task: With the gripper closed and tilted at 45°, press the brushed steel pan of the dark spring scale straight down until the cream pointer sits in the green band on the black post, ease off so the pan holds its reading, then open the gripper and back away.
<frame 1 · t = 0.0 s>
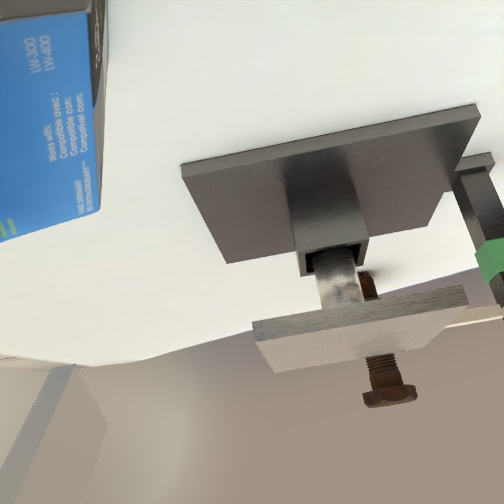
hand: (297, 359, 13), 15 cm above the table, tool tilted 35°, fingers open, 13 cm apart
bolt: (358, 274, 53), on the table
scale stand: (317, 196, 35), on the table
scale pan: (369, 294, 31), point 9 cm above the table, slide at 0.0 cm
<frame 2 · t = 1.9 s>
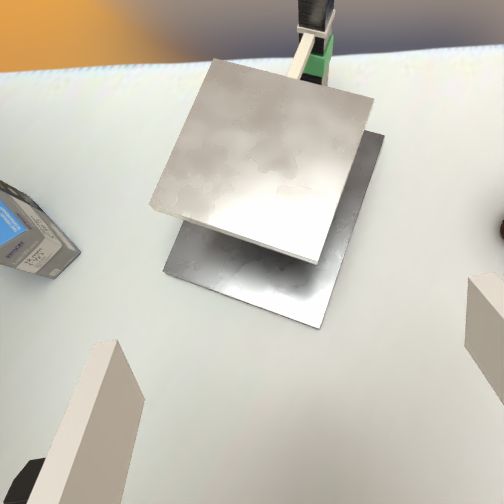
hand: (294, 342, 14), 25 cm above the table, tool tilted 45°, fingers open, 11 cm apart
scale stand: (273, 211, 41), on the table
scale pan: (274, 149, 33), point 9 cm above the table, slide at 0.0 cm
label tape box: (42, 239, 44), on the table
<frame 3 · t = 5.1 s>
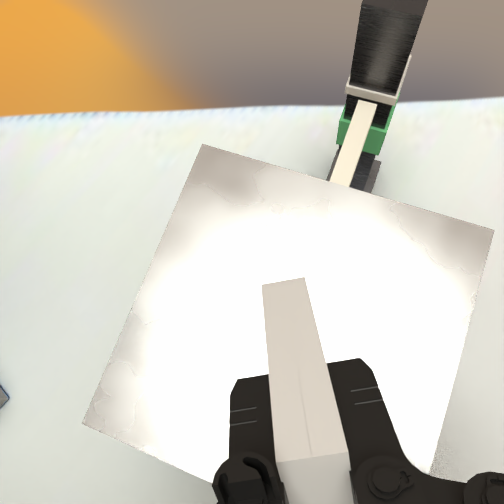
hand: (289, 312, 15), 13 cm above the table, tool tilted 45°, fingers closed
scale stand: (294, 342, 28), on the table
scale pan: (305, 291, 20), point 8 cm above the table, slide at -0.3 cm, touching gripper
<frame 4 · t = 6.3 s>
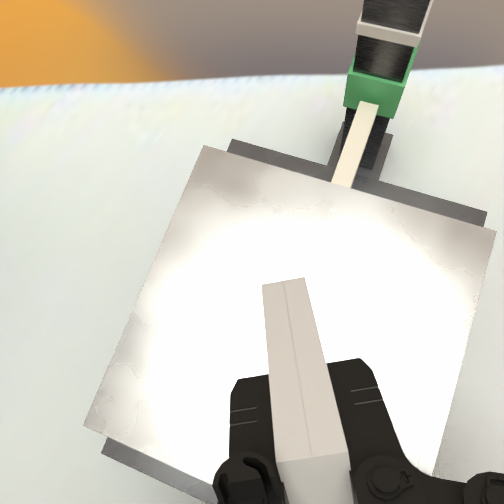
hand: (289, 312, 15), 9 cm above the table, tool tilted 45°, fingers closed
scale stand: (294, 340, 24), on the table
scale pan: (307, 292, 20), point 5 cm above the table, slide at -3.8 cm, touching gripper
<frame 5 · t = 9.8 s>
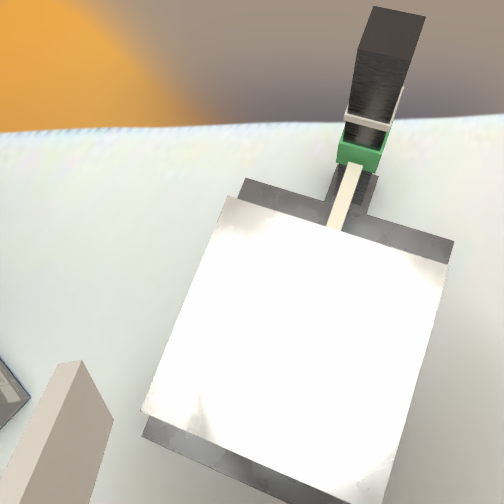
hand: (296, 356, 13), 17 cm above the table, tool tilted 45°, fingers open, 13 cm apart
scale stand: (297, 345, 29), on the table
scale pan: (307, 308, 25), point 5 cm above the table, slide at -3.9 cm
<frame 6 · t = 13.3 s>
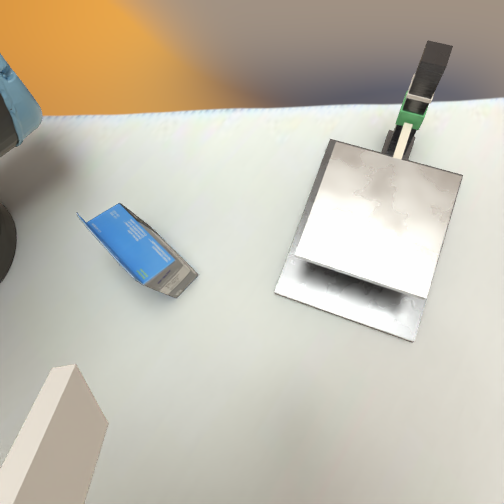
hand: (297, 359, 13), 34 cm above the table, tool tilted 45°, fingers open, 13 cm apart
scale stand: (366, 239, 48), on the table
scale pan: (379, 208, 44), point 5 cm above the table, slide at -3.9 cm
label tape box: (162, 263, 50), on the table
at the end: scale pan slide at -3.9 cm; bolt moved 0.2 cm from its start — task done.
